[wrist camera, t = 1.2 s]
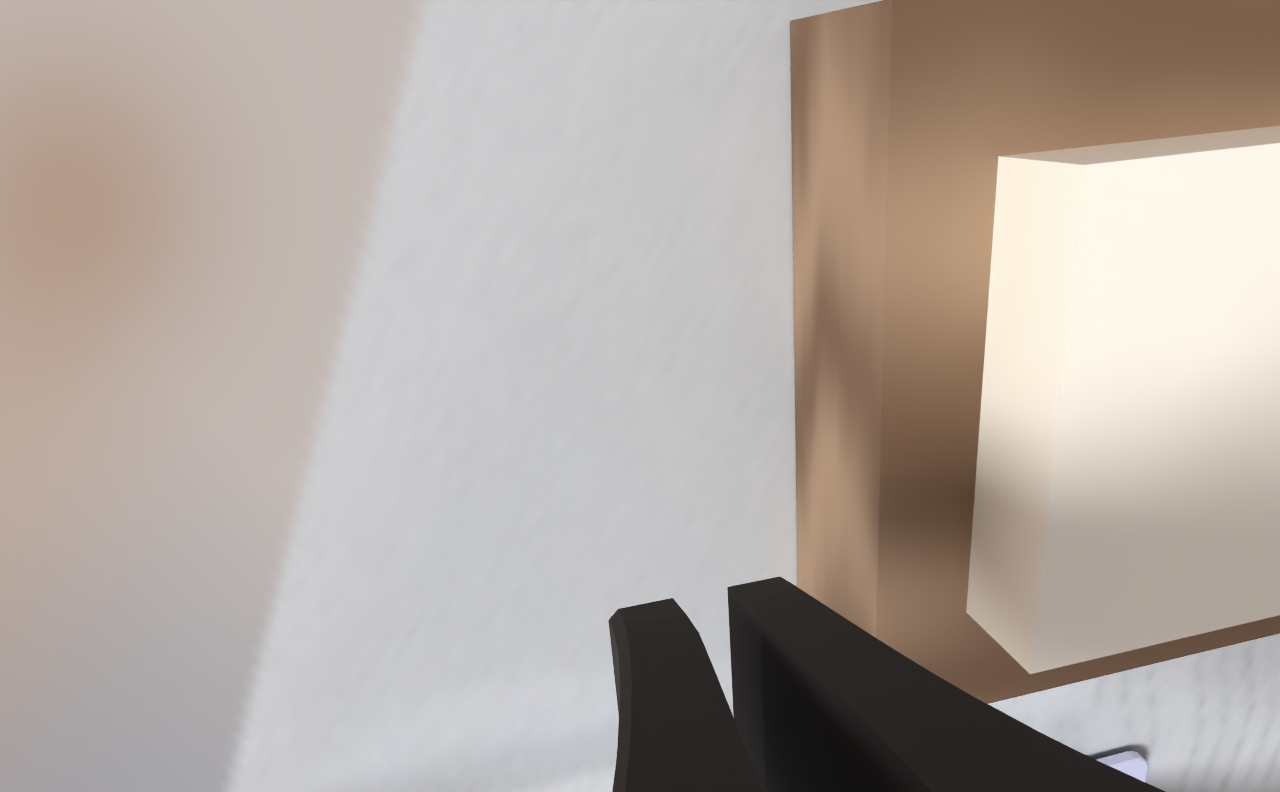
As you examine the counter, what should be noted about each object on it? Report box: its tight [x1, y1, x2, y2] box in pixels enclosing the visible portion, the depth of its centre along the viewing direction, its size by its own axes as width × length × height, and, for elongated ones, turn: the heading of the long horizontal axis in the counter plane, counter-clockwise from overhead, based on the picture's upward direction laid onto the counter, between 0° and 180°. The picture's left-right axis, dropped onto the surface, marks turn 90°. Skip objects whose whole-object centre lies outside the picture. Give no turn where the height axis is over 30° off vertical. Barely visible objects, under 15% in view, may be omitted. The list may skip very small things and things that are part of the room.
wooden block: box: [790, 0, 1280, 704], centre depth 18 cm, size 14×12×4 cm
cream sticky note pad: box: [966, 126, 1280, 674], centre depth 15 cm, size 9×6×2 cm, turn 4°
